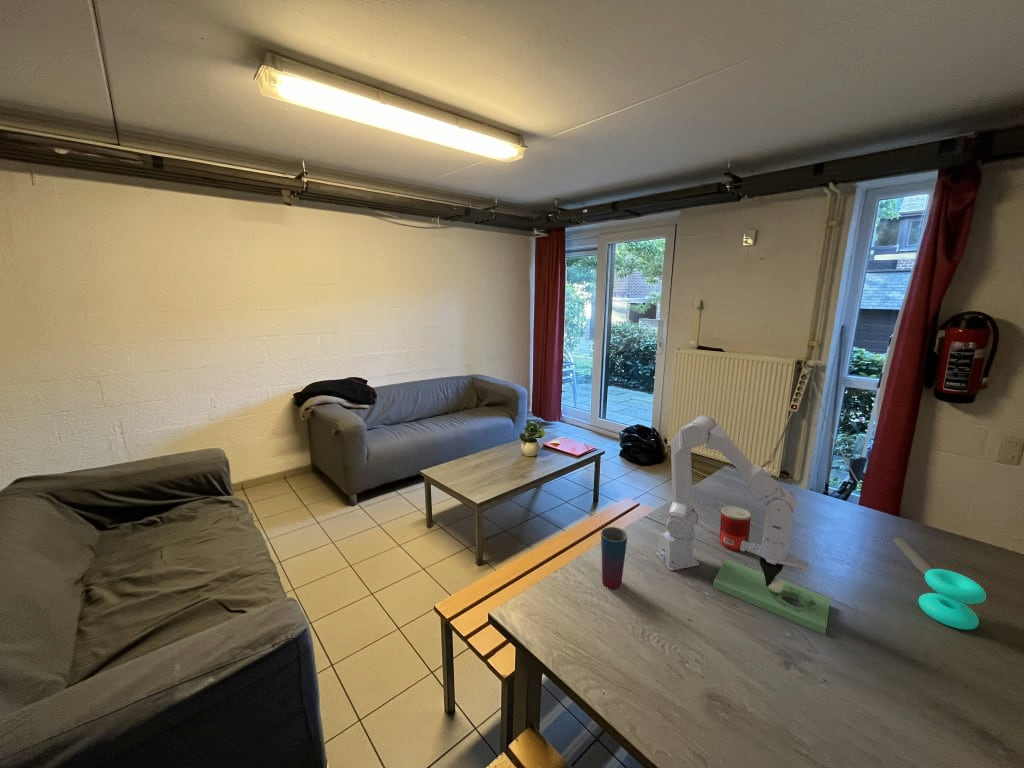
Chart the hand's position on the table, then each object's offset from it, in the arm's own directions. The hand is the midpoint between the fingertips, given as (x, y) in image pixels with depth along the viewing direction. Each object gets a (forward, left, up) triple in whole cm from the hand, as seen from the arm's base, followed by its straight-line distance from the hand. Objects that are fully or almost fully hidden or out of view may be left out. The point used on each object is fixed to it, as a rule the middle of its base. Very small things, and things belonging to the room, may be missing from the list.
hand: (769, 584), depth 104 cm
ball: (+1, -1, 0) cm, 1 cm away
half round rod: (+54, 0, -4) cm, 54 cm away
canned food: (+8, +20, -3) cm, 22 cm away
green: (0, 0, -3) cm, 3 cm away
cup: (-37, +14, -3) cm, 40 cm away
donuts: (+36, -17, -3) cm, 40 cm away
